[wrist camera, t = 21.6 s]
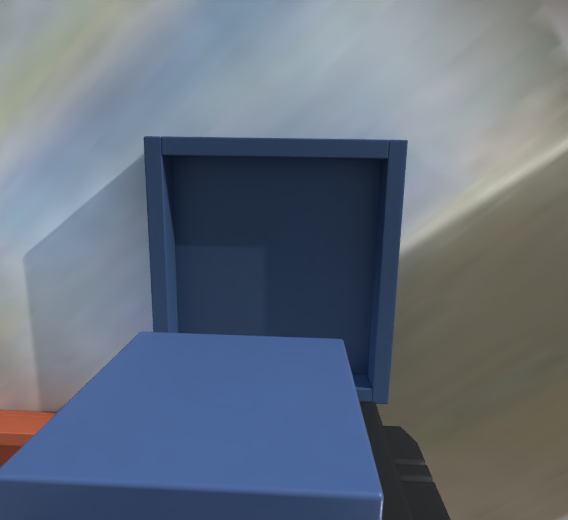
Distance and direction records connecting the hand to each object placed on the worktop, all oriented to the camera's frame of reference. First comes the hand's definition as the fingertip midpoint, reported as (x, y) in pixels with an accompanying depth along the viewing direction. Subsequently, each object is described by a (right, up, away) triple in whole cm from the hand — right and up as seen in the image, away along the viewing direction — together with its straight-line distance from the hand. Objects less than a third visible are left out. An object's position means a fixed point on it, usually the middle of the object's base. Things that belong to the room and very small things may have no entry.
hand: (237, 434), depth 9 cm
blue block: (0, 0, 0) cm, 0 cm away
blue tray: (+1, +3, +12) cm, 12 cm away
